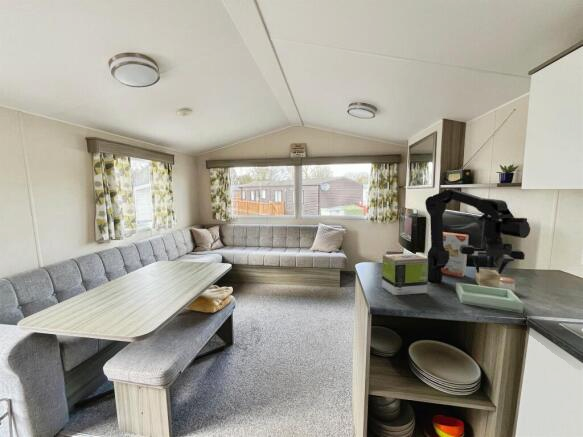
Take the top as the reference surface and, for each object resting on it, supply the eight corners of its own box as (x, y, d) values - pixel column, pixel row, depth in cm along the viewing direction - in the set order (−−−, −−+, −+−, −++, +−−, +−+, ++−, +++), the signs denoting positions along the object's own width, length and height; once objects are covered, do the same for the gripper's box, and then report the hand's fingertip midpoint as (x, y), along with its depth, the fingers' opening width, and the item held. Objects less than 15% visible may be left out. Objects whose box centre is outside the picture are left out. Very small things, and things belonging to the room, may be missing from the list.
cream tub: (498, 292, 107) (499, 280, 106) (494, 287, 112) (495, 276, 112) (516, 294, 104) (517, 282, 104) (511, 289, 110) (512, 278, 109)
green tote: (461, 302, 96) (461, 294, 95) (455, 290, 108) (456, 282, 108) (522, 313, 88) (523, 303, 88) (509, 298, 101) (510, 289, 100)
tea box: (411, 285, 114) (413, 252, 113) (427, 293, 104) (429, 258, 103) (380, 286, 112) (382, 253, 110) (393, 296, 102) (395, 259, 100)
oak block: (479, 285, 96) (480, 272, 96) (475, 280, 102) (476, 268, 101) (498, 288, 94) (500, 275, 93) (494, 282, 99) (495, 270, 99)
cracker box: (431, 271, 135) (434, 232, 133) (435, 269, 139) (438, 231, 137) (462, 278, 125) (465, 235, 122) (465, 275, 129) (469, 234, 126)
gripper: (466, 234, 92) (462, 276, 94) (533, 239, 84) (528, 284, 86) (460, 230, 102) (457, 268, 104) (520, 234, 94) (516, 275, 96)
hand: (487, 273), depth 97 cm, fingers closed on oak block, 6 cm apart
